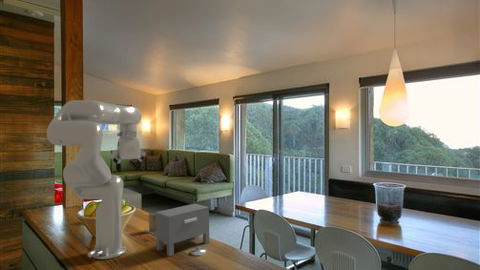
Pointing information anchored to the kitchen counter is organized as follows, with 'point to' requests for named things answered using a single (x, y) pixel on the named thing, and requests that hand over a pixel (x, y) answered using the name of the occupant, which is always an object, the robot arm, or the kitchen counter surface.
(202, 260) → the kitchen counter surface
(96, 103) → the robot arm
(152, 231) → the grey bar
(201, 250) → the token
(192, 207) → the cabinet
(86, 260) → the kitchen counter surface
